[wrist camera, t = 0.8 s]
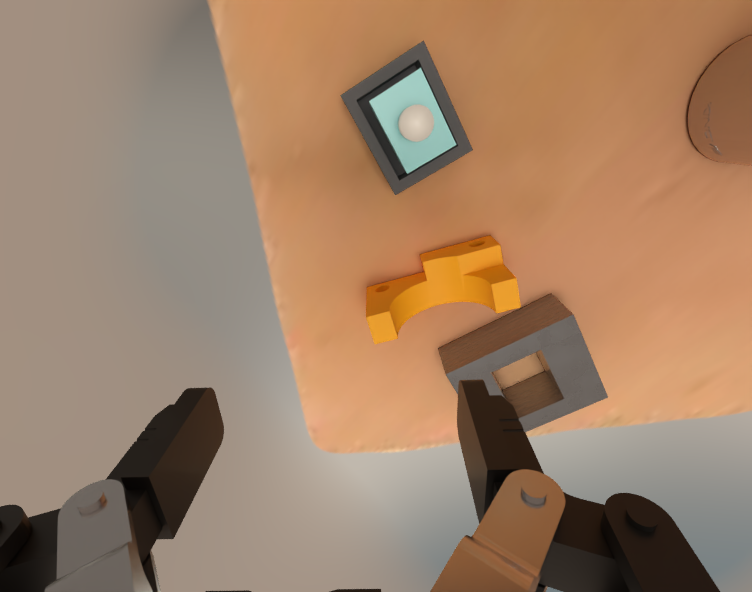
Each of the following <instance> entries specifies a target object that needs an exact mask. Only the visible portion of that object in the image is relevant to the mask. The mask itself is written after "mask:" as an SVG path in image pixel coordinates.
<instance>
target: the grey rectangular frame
mask: <svg viewBox="0 0 752 592" xmlns="http://www.w3.org/2000/svg"><path fill="white" fill-rule="evenodd" d="M420 68H421V69H422V71H423V74H424V76H425V78H426V80H427V82H428V84H429V87H430V89H431V91H432V93H433V95H434V97H435V100H436V102H437V104H438V106H439V108H440V110H441V112H442V115H443V117H444V119H445V121H446V123H447V125H448V128H449V130H450V132H451V134H452V136H453V138H454V141H455V143H456V145H455V146H454V147H452V148H450V149H449V150H447V151H445V152H443V153H442V154H440V155H438V156H437V157H435V158H433V159H432V160H430V161H428V162H427V163H425V164H423V165H421V166H420V167H418V168H416V169H415V170H413V171H411V172H410V173H408V174H407V173H406V171H405V170H404V168H403V167H402V165H401V164H400V162H399V160H398V158H397V156H396V154H395V152H394V151H393V149H392V147H391V145H390V143H389V141H388V139H387V137H386V135H385V133H384V132H383V130H382V128H381V126H380V124H379V122H378V120H377V118H376V116H375V115H374V113H373V111H372V109H371V107H370V104H369V101H370V100H372V99H373V98H375V97H376V96H378V95H379V94H381V93H383V92H384V91H386V90H387V89H389V88H390V87H392V86H393V85H395V84H396V83H398V82H400V81H401V80H403V79H404V78H406V77H407V76H409V75H410V74H412V73H414V72H415V71H417V70H418V69H420ZM341 97H342V99H343V101H344V103H345V105H346V106H347V108H348V110H349V112H350V114H351V116H352V117H353V119H354V121H355V123H356V125H357V126H358V128H359V130H360V132H361V134H362V136H363V137H364V139H365V141H366V143H367V145H368V146H369V148H370V150H371V152H372V154H373V156H374V157H375V159H376V161H377V163H378V165H379V167H380V168H381V170H382V172H383V174H384V176H385V177H386V179H387V181H388V183H389V185H390V187H391V188H392V190H393V192H394V194H395V195H397V194H398V193H400V192H402V191H403V190H405V189H407V188H409V187H410V186H412V185H414V184H415V183H417V182H419V181H421V180H422V179H424V178H426V177H427V176H429V175H431V174H433V173H434V172H436V171H438V170H439V169H441V168H443V167H445V166H446V165H448V164H450V163H451V162H453V161H455V160H457V159H458V158H460V157H462V156H463V155H465V154H467V153H469V152H470V151H472V150H473V149H472V147H471V145H470V143H469V140H468V138H467V136H466V134H465V131H464V129H463V127H462V125H461V123H460V120H459V118H458V116H457V114H456V111H455V109H454V107H453V105H452V103H451V100H450V98H449V96H448V94H447V91H446V89H445V87H444V85H443V83H442V80H441V78H440V76H439V74H438V71H437V69H436V67H435V65H434V63H433V60H432V58H431V56H430V54H429V51H428V49H427V47H426V45H425V43H424V41H422V42H421V43H419V44H418V45H416V46H415V47H413V48H412V49H410V50H409V51H407V52H406V53H404V54H403V55H401V56H399V57H398V58H396V59H395V60H393V61H392V62H390V63H389V64H387V65H386V66H384V67H383V68H381V69H380V70H378V71H377V72H375V73H374V74H372V75H371V76H369V77H368V78H366V79H365V80H363V81H362V82H360V83H359V84H357V85H356V86H354V87H353V88H351V89H350V90H348V91H347V92H345V93H343V94H342V95H341Z"/></svg>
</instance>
